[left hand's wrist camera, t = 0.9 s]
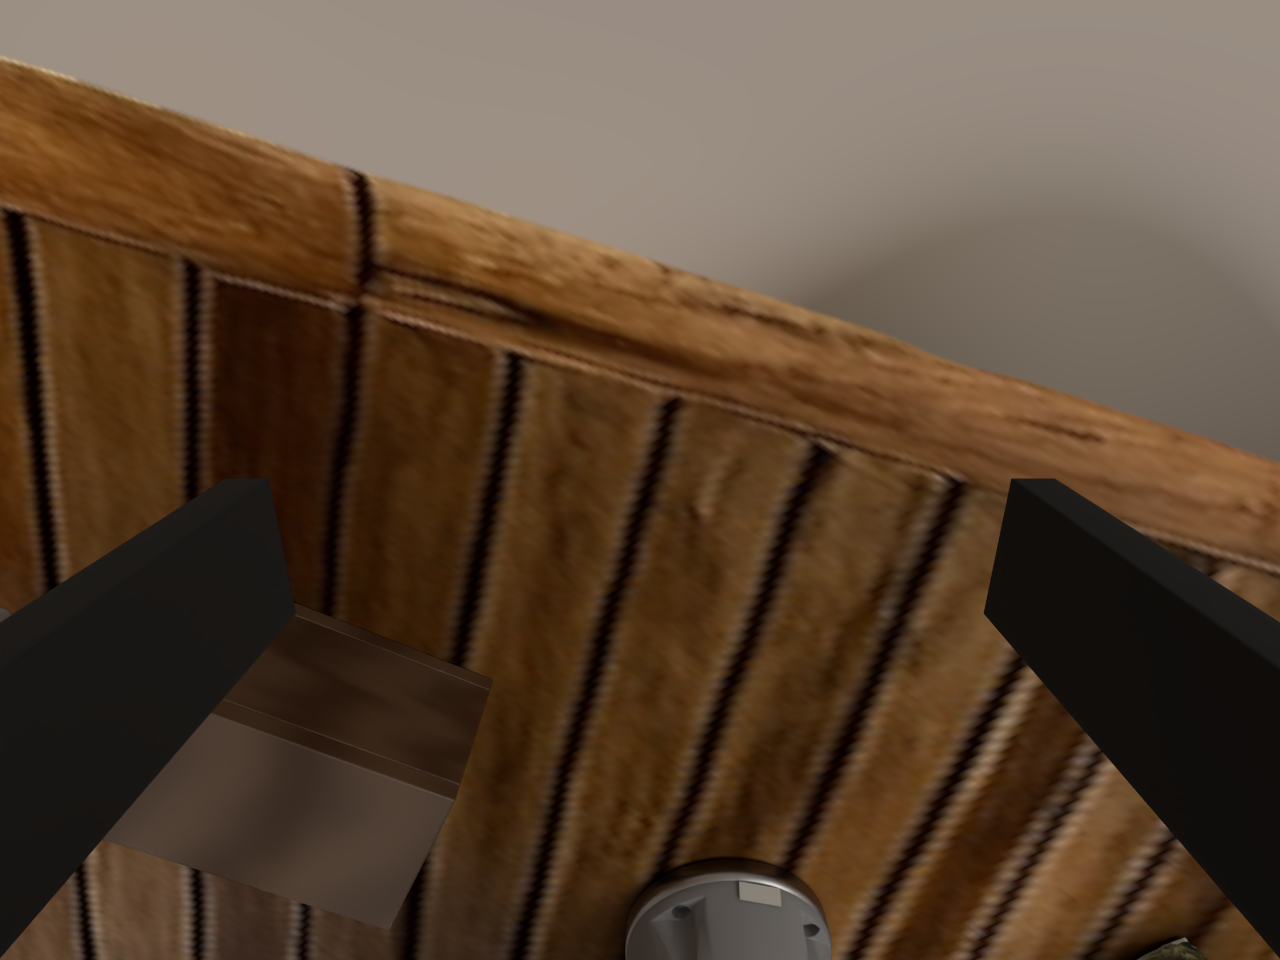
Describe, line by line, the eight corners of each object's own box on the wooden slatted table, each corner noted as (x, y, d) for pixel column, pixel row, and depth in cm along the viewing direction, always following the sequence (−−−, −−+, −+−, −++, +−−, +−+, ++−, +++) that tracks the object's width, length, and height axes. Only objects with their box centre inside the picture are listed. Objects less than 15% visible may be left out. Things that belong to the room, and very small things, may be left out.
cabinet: (181, 703, 45) (65, 828, 36) (220, 573, 42) (103, 675, 33) (436, 793, 48) (388, 931, 39) (493, 679, 45) (455, 800, 35)
